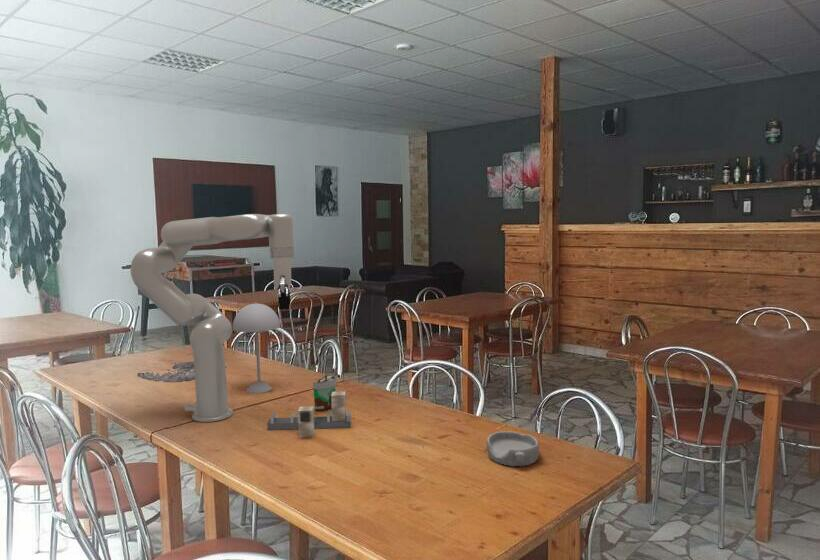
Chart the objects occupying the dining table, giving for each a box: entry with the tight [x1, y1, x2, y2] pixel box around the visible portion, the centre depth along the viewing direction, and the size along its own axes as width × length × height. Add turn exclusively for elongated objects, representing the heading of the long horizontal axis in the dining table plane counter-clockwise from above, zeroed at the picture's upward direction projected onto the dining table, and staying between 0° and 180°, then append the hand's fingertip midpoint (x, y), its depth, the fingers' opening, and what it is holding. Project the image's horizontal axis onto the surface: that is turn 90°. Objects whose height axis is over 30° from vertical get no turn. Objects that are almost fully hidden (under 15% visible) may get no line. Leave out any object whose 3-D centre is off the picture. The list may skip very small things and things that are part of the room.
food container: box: [312, 373, 338, 412], centre depth 201 cm, size 12×6×10 cm, turn 168°
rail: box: [266, 409, 352, 431], centre depth 183 cm, size 25×5×4 cm, turn 92°
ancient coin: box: [137, 361, 195, 383], centre depth 253 cm, size 33×35×1 cm
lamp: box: [232, 301, 281, 394], centre depth 222 cm, size 17×17×33 cm
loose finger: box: [297, 405, 315, 438], centre depth 175 cm, size 4×5×8 cm
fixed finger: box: [329, 390, 347, 421], centre depth 183 cm, size 5×4×8 cm
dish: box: [486, 430, 540, 467], centre depth 158 cm, size 14×14×5 cm
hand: (284, 306), depth 190 cm, fingers open, 9 cm apart
